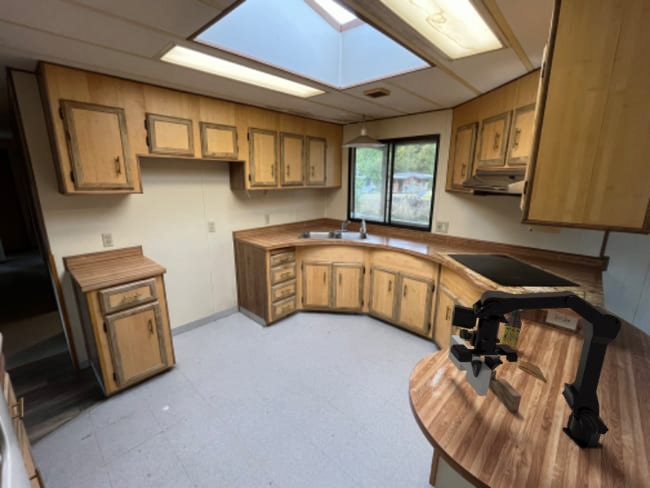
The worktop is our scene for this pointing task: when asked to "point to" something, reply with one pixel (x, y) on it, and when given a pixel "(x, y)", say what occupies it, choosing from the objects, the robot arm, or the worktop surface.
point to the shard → (531, 369)
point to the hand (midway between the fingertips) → (479, 376)
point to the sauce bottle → (512, 330)
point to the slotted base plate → (504, 392)
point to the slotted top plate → (484, 375)
